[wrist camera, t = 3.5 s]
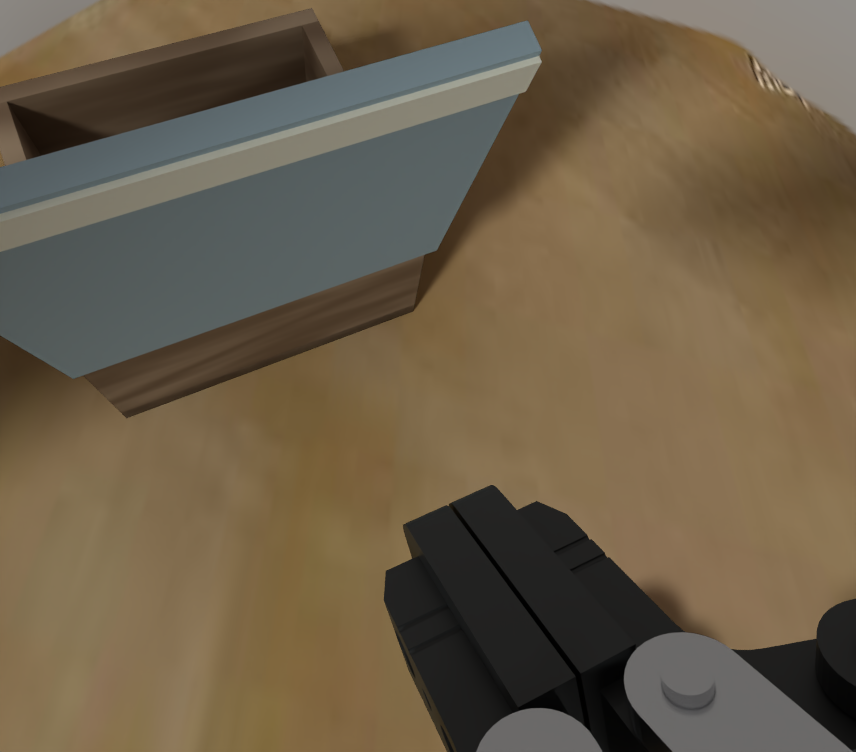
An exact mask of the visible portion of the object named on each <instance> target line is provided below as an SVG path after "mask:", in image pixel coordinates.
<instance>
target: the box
mask: <svg viewBox="0 0 856 752" xmlns="http://www.w3.org/2000/svg"><path fill="white" fill-rule="evenodd" d="M341 72H344V70H343V68H342V66H341V64H340V62H339V60H338V58H337V56H336V54H335V52H334V50H333V48H332V46H331V44H330V42H329V40H328V39H327V37H326V35H325V33H324V31H323V29H322V27H321V25H320V23H319V21H318V19H317V17H316V15H315V13H314V11H313V9H312V8H311V9H307V10H303V11H299V12H295V13H291V14H287V15H283V16H279V17H275V18H271V19H267V20H263V21H259V22H255V23H251V24H248V25H244V26H240V27H236V28H232V29H228V30H224V31H220V32H216V33H212V34H208V35H204V36H200V37H196V38H192V39H188V40H184V41H180V42H176V43H172V44H168V45H164V46H161V47H157V48H153V49H149V50H145V51H141V52H137V53H133V54H129V55H125V56H121V57H117V58H113V59H109V60H105V61H101V62H97V63H93V64H89V65H85V66H81V67H78V68H74V69H70V70H66V71H62V72H58V73H54V74H50V75H46V76H42V77H38V78H34V79H30V80H26V81H22V82H18V83H14V84H10V85H6V86H2V87H0V151H1V154H2V157H3V160H4V163H5V166H7V165H10V164H14V163H17V162H21V161H24V160H28V159H32V158H35V157H39V156H42V155H46V154H50V153H53V152H57V151H60V150H64V149H68V148H71V147H75V146H78V145H82V144H86V143H89V142H93V141H96V140H100V139H103V138H107V137H111V136H114V135H118V134H121V133H125V132H129V131H132V130H136V129H139V128H143V127H147V126H150V125H154V124H157V123H161V122H165V121H168V120H172V119H175V118H179V117H183V116H186V115H190V114H193V113H197V112H200V111H204V110H208V109H211V108H215V107H218V106H222V105H226V104H229V103H233V102H236V101H240V100H244V99H247V98H251V97H254V96H258V95H262V94H265V93H269V92H272V91H276V90H280V89H283V88H287V87H290V86H294V85H297V84H301V83H305V82H308V81H312V80H315V79H319V78H323V77H326V76H330V75H333V74H337V73H341ZM423 260H424V255H422V256H419V257H417V258H414V259H411V260H408V261H405V262H402V263H400V264H397V265H394V266H391V267H388V268H385V269H383V270H380V271H377V272H374V273H371V274H369V275H366V276H363V277H360V278H357V279H354V280H352V281H349V282H346V283H343V284H340V285H337V286H335V287H332V288H329V289H326V290H323V291H320V292H318V293H315V294H312V295H309V296H306V297H303V298H301V299H298V300H295V301H292V302H289V303H287V304H284V305H281V306H278V307H275V308H272V309H270V310H267V311H264V312H261V313H258V314H255V315H253V316H250V317H247V318H244V319H241V320H238V321H236V322H233V323H230V324H227V325H224V326H221V327H219V328H216V329H213V330H210V331H207V332H205V333H202V334H199V335H196V336H193V337H190V338H188V339H185V340H182V341H179V342H176V343H173V344H171V345H168V346H165V347H162V348H159V349H156V350H154V351H151V352H148V353H145V354H142V355H139V356H137V357H134V358H131V359H128V360H125V361H123V362H120V363H117V364H114V365H111V366H108V367H106V368H103V369H100V370H97V371H94V372H91V373H89V374H86V375H83V376H84V377H85V378H86V379H87V380H88V381H89V382H90V383H91V384H92V385H93V386H94V387H95V388H96V389H97V390H98V391H99V392H100V393H101V394H103V395H104V396H105V397H106V398H107V399H108V400H109V401H110V402H111V403H112V404H113V405H114V406H115V407H116V408H117V409H118V410H119V411H120V412H121V413H122V414H123V415H124V416H125V417H126V418H128V417H131V416H134V415H136V414H139V413H142V412H144V411H147V410H150V409H152V408H155V407H158V406H160V405H163V404H166V403H168V402H171V401H174V400H176V399H179V398H182V397H184V396H187V395H190V394H193V393H195V392H198V391H201V390H203V389H206V388H209V387H211V386H214V385H217V384H219V383H222V382H225V381H227V380H230V379H233V378H235V377H238V376H241V375H243V374H246V373H249V372H252V371H254V370H257V369H260V368H262V367H265V366H268V365H270V364H273V363H276V362H278V361H281V360H284V359H286V358H289V357H292V356H294V355H297V354H300V353H302V352H305V351H308V350H311V349H313V348H316V347H319V346H321V345H324V344H327V343H329V342H332V341H335V340H337V339H340V338H343V337H345V336H348V335H351V334H353V333H356V332H359V331H362V330H364V329H367V328H370V327H372V326H375V325H378V324H380V323H383V322H386V321H388V320H391V319H394V318H396V317H399V316H402V315H404V314H407V313H410V312H412V311H413V310H414V305H415V300H416V295H417V290H418V285H419V280H420V275H421V270H422V265H423Z"/></svg>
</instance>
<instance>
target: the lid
mask: <svg viewBox="0 0 856 752" xmlns="http://www.w3.org/2000/svg"><path fill="white" fill-rule="evenodd" d="M541 51H542V50H541V48H540V45H539V43H538V41H537V39H536V37H535V35H534V33H533V31H532V29H531V26H530V24H529V22H528V20H527V21H524V22H520V23H517V24H513V25H509V26H506V27H502V28H499V29H495V30H491V31H488V32H484V33H481V34H477V35H473V36H470V37H466V38H463V39H459V40H456V41H452V42H448V43H445V44H441V45H438V46H434V47H430V48H427V49H423V50H420V51H416V52H412V53H409V54H405V55H402V56H398V57H394V58H391V59H387V60H384V61H380V62H377V63H373V64H369V65H366V66H362V67H359V68H355V69H351V70H348V71H344V72H341V73H337V74H333V75H330V76H326V77H323V78H319V79H315V80H312V81H308V82H305V83H301V84H297V85H294V86H290V87H287V88H283V89H280V90H276V91H272V92H269V93H265V94H262V95H258V96H254V97H251V98H247V99H244V100H240V101H236V102H233V103H229V104H226V105H222V106H218V107H215V108H211V109H208V110H204V111H200V112H197V113H193V114H190V115H186V116H183V117H179V118H175V119H172V120H168V121H165V122H161V123H157V124H154V125H150V126H147V127H143V128H139V129H136V130H132V131H129V132H125V133H121V134H118V135H114V136H111V137H107V138H103V139H100V140H96V141H93V142H89V143H86V144H82V145H78V146H75V147H71V148H68V149H64V150H60V151H57V152H53V153H50V154H46V155H42V156H39V157H35V158H32V159H28V160H24V161H21V162H17V163H14V164H10V165H7V166H3V167H0V336H2V337H4V338H5V339H7V340H9V341H10V342H12V343H14V344H15V345H17V346H19V347H20V348H22V349H24V350H26V351H27V352H29V353H31V354H32V355H34V356H36V357H37V358H39V359H41V360H42V361H44V362H46V363H47V364H49V365H51V366H52V367H54V368H56V369H58V370H59V371H61V372H63V373H64V374H66V375H68V376H69V377H71V378H73V379H74V378H77V377H80V376H83V375H86V374H89V373H91V372H94V371H97V370H100V369H103V368H106V367H108V366H111V365H114V364H117V363H120V362H123V361H125V360H128V359H131V358H134V357H137V356H139V355H142V354H145V353H148V352H151V351H154V350H156V349H159V348H162V347H165V346H168V345H171V344H173V343H176V342H179V341H182V340H185V339H188V338H190V337H193V336H196V335H199V334H202V333H205V332H207V331H210V330H213V329H216V328H219V327H221V326H224V325H227V324H230V323H233V322H236V321H238V320H241V319H244V318H247V317H250V316H253V315H255V314H258V313H261V312H264V311H267V310H270V309H272V308H275V307H278V306H281V305H284V304H287V303H289V302H292V301H295V300H298V299H301V298H303V297H306V296H309V295H312V294H315V293H318V292H320V291H323V290H326V289H329V288H332V287H335V286H337V285H340V284H343V283H346V282H349V281H352V280H354V279H357V278H360V277H363V276H366V275H369V274H371V273H374V272H377V271H380V270H383V269H385V268H388V267H391V266H394V265H397V264H400V263H402V262H405V261H408V260H411V259H414V258H417V257H419V256H422V255H425V254H428V253H431V252H434V251H436V250H437V249H438V247H439V245H440V243H441V241H442V240H443V238H444V236H445V234H446V232H447V230H448V228H449V226H450V224H451V222H452V220H453V219H454V217H455V215H456V213H457V211H458V209H459V207H460V205H461V203H462V201H463V200H464V198H465V196H466V194H467V192H468V190H469V188H470V186H471V184H472V182H473V181H474V179H475V177H476V175H477V173H478V171H479V169H480V167H481V165H482V163H483V161H484V160H485V158H486V156H487V154H488V152H489V150H490V148H491V146H492V144H493V142H494V141H495V139H496V137H497V135H498V133H499V131H500V129H501V127H502V125H503V123H504V122H505V120H506V118H507V116H508V114H509V112H510V110H511V108H512V106H513V104H514V102H515V101H516V99H517V97H518V95H519V94H520V93H523V92H526V90H527V88H528V87H529V85H530V83H531V81H532V79H533V77H534V75H535V74H536V72H537V70H538V68H539V66H540V64H541V62H542V61H541V59H540V57H539V55H540V53H541Z"/></svg>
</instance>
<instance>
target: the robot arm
mask: <svg viewBox="0 0 856 752" xmlns="http://www.w3.org/2000/svg"><path fill="white" fill-rule="evenodd" d="M403 529H404V533H405V537H406V540H407V543H408V546H409V549H410V553H411V556H412V559H411V560H409V561H407V562H404V563H402V564H400V565H398V566H396V567H394V568H391V569H389V570H387V571H386V577H385V592H384V602H385V605H386V608H387V610H388V613H389V616H390V619H391V622H392V624H393V627H394V630H395V633H396V636H397V639H398V641H399V644H400V647H401V650H402V653H403V656H404V658H405V661H406V664H407V667H408V670H409V672H410V674H411V676H412V678H413V680H414V682H415V685H416V687H417V689H418V691H419V693H420V695H421V697H422V699H423V701H424V704H425V706H426V708H427V710H428V712H429V714H430V716H431V718H432V721H433V722H434V724H435V727H436V729H437V731H438V733H439V735H440V738H441V740H442V742H443V744H444V746H445V748H446V750H447V752H856V599H853V600H848V601H844V602H842V603H840V604H837V605H835V606H834V607H832V608H831V609H829V610H828V611H827V612H826V613H825V614H824V615H823V616H822V618H821V620H820V622H819V624H818V628H817V639H813V640H807V641H802V642H796V643H791V644H785V645H780V646H774V647H769V648H763V649H755V650H734V649H730V648H728V647H727V646H726V645H724V644H722V643H720V642H718V641H717V640H714V639H712V638H709V637H706V636H703V635H699V634H695V633H686V632H685V631H683V630H682V629H681V628H680V627H678V626H677V625H676V624H675V623H674V622H673V621H672V620H671V619H670V618H669V617H668V616H667V615H666V614H665V613H664V612H663V611H662V610H661V609H660V608H659V607H658V606H657V605H656V604H655V603H654V602H653V601H652V600H651V599H650V598H649V597H648V596H647V595H646V594H645V593H644V592H643V591H642V590H641V589H640V588H639V587H638V586H637V585H636V584H635V583H634V582H633V581H632V580H631V579H630V578H629V577H628V576H627V575H626V574H625V573H624V572H623V571H622V570H621V569H620V568H619V567H618V566H617V565H616V564H615V563H614V562H613V561H612V560H611V559H610V558H609V557H608V558H607V557H606V555H605V552H604V551H603V550H602V549H601V548H600V547H599V546H598V545H597V544H596V543H595V542H594V541H593V540H592V539H591V540H589V538H588V536H587V534H586V533H585V532H584V531H583V530H582V529H581V528H580V527H579V526H578V525H577V524H576V523H575V522H574V521H573V520H572V519H571V518H570V517H569V516H568V515H567V514H565V513H563V512H561V511H558V510H556V509H554V508H551V507H549V506H547V505H544V504H542V503H540V502H537V501H536V502H534V503H532V504H529V505H527V506H525V507H523V508H521V509H519V510H516V509H515V508H514V506H513V505H512V504H511V503H510V502H509V501H508V500H507V499H506V497H505V496H504V495H503V494H502V493H501V492H500V491H499V490H498V489H497V488H496V487H495V486H493V485H490V486H488V487H485V488H483V489H481V490H479V491H476V492H474V493H472V494H470V495H468V496H465V497H463V498H461V499H459V500H456V501H454V502H452V503H450V504H449V506H447V505H446V506H444V507H441V508H439V509H437V510H435V511H432V512H430V513H428V514H426V515H423V516H421V517H419V518H417V519H414V520H412V521H410V522H408V523H406V524H404V525H403Z"/></svg>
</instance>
